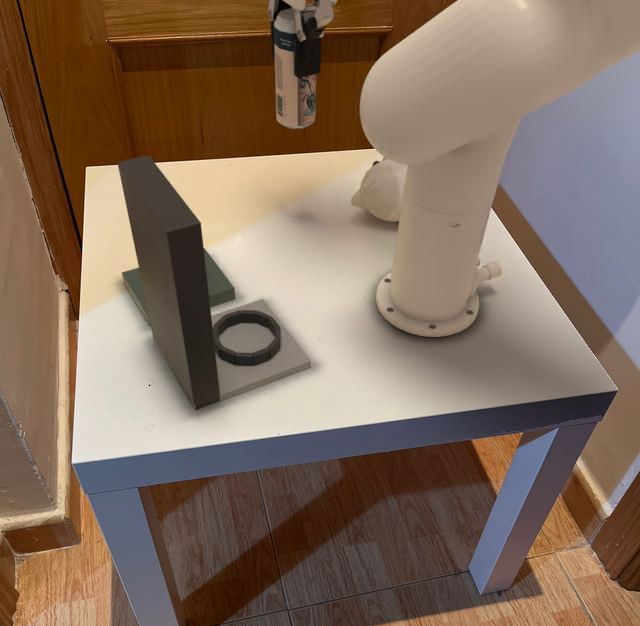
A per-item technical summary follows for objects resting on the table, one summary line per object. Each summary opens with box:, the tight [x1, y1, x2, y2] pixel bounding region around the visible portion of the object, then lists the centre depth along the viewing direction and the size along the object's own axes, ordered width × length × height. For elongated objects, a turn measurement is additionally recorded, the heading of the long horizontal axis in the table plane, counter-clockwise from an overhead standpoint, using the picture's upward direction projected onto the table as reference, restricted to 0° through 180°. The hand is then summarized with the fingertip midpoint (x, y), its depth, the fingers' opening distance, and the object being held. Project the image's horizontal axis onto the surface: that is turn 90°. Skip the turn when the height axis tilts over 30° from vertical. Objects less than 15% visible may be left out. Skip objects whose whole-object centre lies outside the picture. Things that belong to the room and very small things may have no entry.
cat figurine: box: [350, 156, 408, 223], centre depth 94 cm, size 10×8×15 cm
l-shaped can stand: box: [117, 154, 312, 412], centre depth 69 cm, size 14×12×22 cm
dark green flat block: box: [121, 248, 236, 328], centre depth 83 cm, size 11×9×4 cm
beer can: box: [274, 9, 317, 130], centre depth 80 cm, size 5×5×12 cm
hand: (295, 64), depth 80 cm, fingers closed on beer can, 4 cm apart
